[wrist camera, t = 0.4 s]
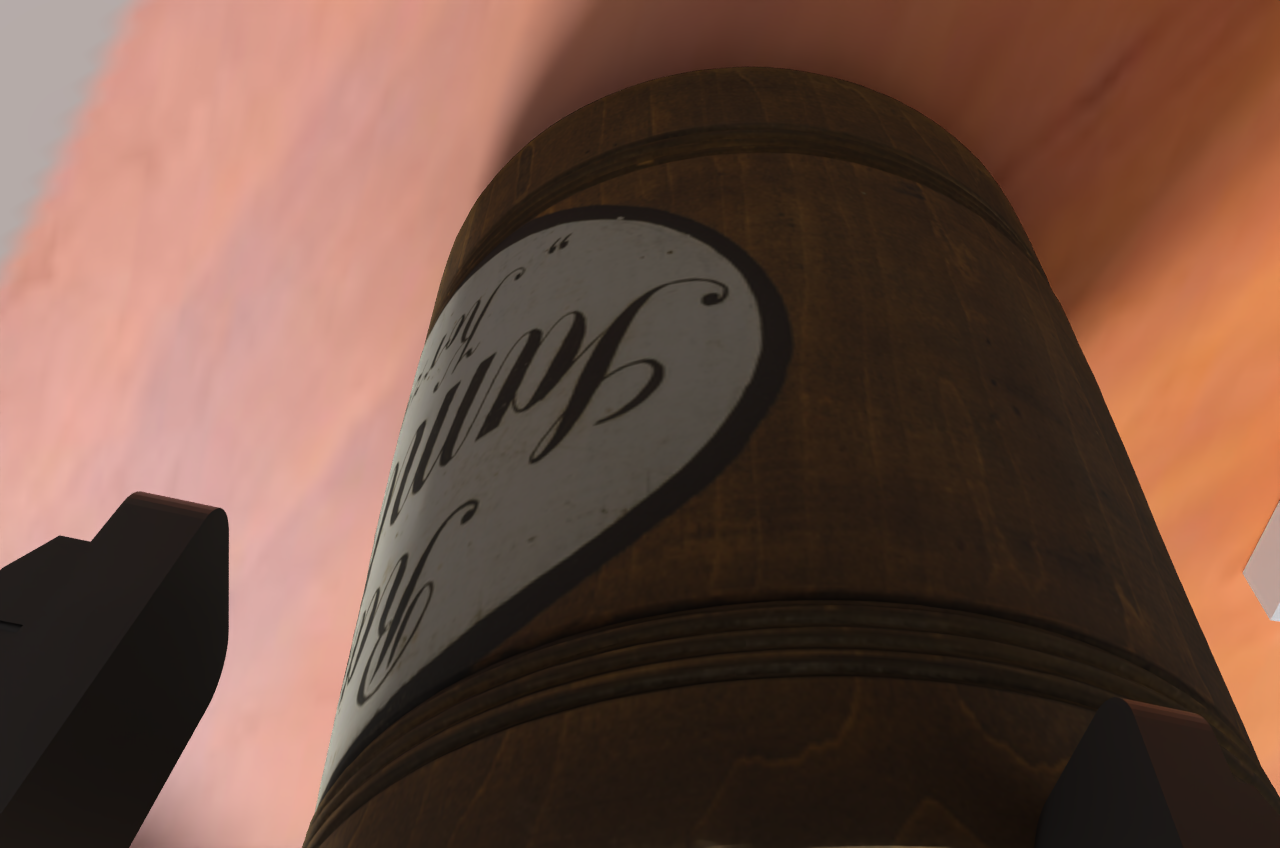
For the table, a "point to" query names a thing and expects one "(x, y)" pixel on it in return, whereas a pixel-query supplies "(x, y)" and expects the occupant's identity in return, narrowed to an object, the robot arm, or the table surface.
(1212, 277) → the table surface
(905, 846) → the wooden container
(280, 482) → the table surface
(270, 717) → the table surface
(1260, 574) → the stand
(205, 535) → the robot arm
